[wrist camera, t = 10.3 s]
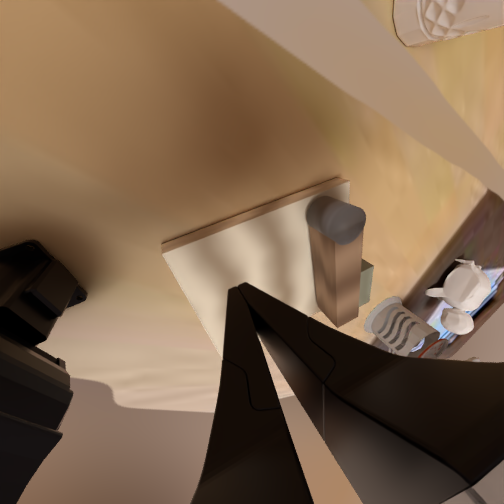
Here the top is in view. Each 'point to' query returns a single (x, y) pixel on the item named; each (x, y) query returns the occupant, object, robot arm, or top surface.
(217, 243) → the stool seat
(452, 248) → the top surface
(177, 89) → the top surface
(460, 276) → the white animal figurine
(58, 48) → the top surface
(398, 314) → the french press
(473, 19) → the white cup
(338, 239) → the walnut leg
